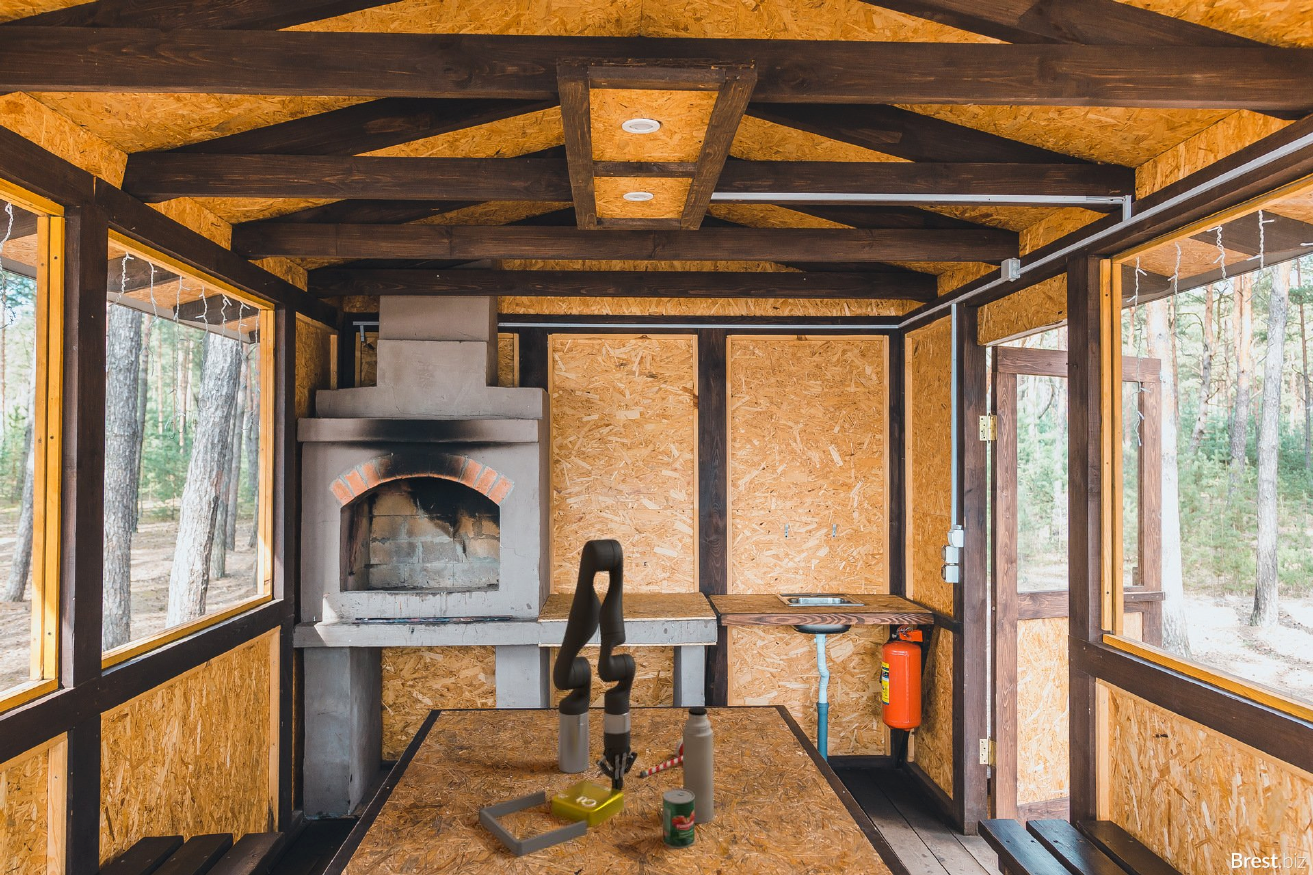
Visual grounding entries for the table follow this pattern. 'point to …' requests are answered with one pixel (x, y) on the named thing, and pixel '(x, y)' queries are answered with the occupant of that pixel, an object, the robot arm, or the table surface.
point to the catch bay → (532, 843)
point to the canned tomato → (678, 818)
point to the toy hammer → (680, 758)
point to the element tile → (588, 803)
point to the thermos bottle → (699, 763)
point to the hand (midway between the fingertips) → (617, 790)
